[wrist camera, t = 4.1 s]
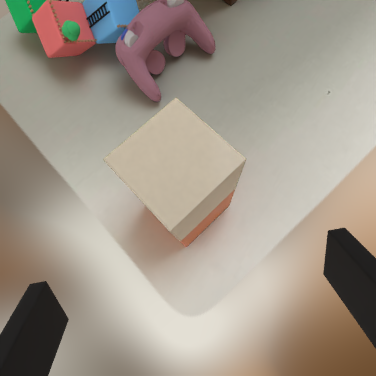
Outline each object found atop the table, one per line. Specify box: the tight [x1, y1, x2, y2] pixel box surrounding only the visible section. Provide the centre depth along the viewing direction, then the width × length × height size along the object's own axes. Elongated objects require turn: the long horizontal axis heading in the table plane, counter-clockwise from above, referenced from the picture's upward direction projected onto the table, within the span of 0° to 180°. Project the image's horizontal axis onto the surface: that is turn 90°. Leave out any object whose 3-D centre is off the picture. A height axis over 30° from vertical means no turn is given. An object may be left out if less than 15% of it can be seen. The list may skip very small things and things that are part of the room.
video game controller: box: [116, 0, 215, 102], centre depth 27 cm, size 10×5×7 cm, turn 135°
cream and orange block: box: [103, 98, 246, 247], centre depth 20 cm, size 6×6×11 cm
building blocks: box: [5, 0, 139, 58], centre depth 28 cm, size 8×8×12 cm
